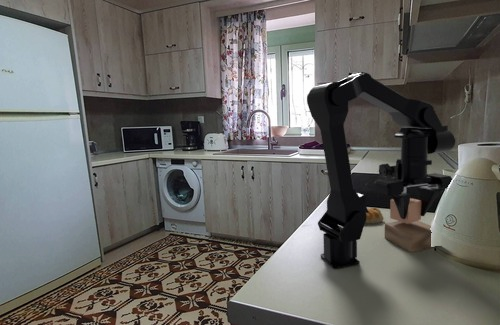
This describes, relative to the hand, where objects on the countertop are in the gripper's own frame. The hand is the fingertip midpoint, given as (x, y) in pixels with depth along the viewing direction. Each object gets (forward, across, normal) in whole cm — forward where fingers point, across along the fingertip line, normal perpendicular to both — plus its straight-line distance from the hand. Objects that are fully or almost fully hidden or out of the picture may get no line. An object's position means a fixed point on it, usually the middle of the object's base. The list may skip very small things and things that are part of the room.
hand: (412, 217), depth 74 cm
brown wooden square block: (+6, 0, 0) cm, 6 cm away
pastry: (+7, 0, -17) cm, 19 cm away
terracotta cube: (+1, 0, -2) cm, 2 cm away
